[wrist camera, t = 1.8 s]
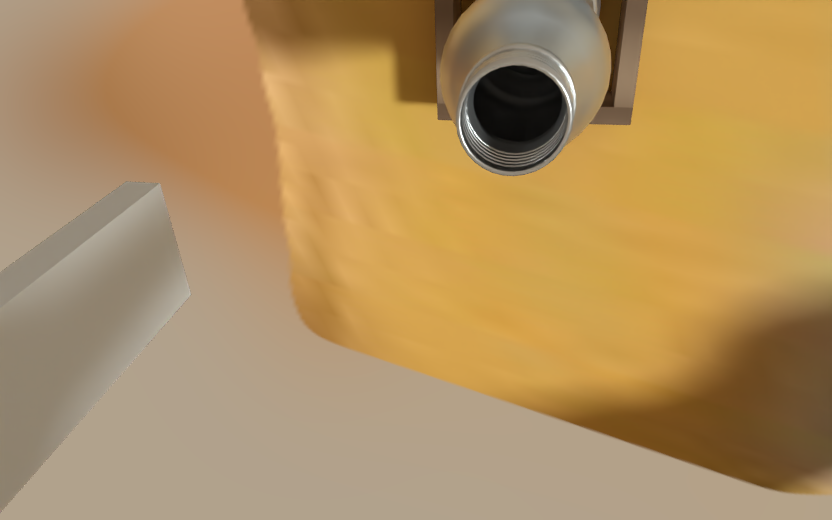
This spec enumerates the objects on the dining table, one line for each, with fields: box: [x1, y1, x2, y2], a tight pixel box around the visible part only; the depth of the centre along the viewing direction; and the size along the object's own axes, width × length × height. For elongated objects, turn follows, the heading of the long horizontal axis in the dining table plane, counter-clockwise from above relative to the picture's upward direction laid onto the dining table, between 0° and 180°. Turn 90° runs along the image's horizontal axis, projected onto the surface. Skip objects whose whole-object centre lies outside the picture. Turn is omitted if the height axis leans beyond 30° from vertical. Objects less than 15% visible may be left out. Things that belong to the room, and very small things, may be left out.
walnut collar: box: [435, 0, 648, 125], centre depth 34 cm, size 12×11×3 cm
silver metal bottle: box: [440, 0, 611, 176], centre depth 27 cm, size 6×7×20 cm
